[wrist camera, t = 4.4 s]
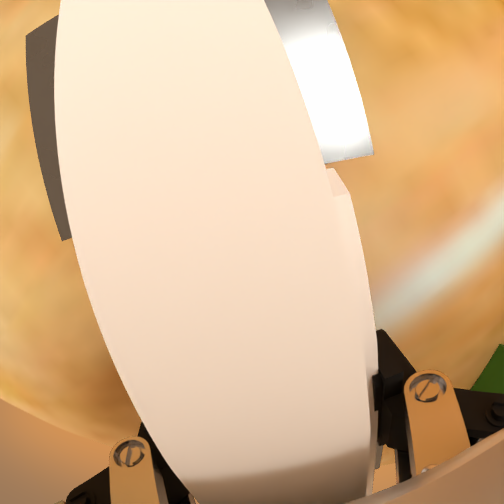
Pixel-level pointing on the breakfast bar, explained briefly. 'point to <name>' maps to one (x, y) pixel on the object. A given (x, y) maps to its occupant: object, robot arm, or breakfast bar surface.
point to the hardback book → (492, 374)
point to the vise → (303, 63)
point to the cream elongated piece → (217, 248)
